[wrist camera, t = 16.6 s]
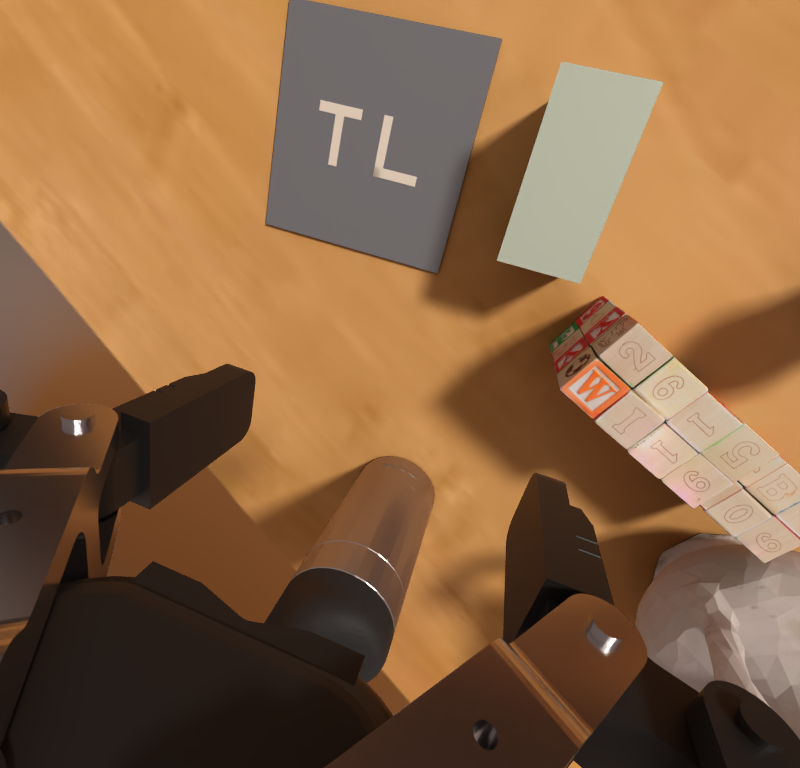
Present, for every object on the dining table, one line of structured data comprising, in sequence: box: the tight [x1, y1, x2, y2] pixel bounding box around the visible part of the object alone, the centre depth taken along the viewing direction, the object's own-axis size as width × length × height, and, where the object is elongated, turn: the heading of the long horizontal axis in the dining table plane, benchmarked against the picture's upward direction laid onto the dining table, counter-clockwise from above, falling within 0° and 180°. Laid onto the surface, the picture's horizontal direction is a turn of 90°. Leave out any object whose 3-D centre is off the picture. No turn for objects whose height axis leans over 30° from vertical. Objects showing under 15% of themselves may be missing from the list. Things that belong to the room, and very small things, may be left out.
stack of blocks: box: [549, 296, 800, 563], centre depth 32 cm, size 21×6×12 cm, turn 50°
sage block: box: [497, 62, 663, 284], centre depth 31 cm, size 6×12×8 cm, turn 166°
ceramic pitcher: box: [635, 533, 800, 739], centre depth 31 cm, size 22×20×25 cm
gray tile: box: [266, 0, 502, 273], centre depth 36 cm, size 18×18×1 cm
